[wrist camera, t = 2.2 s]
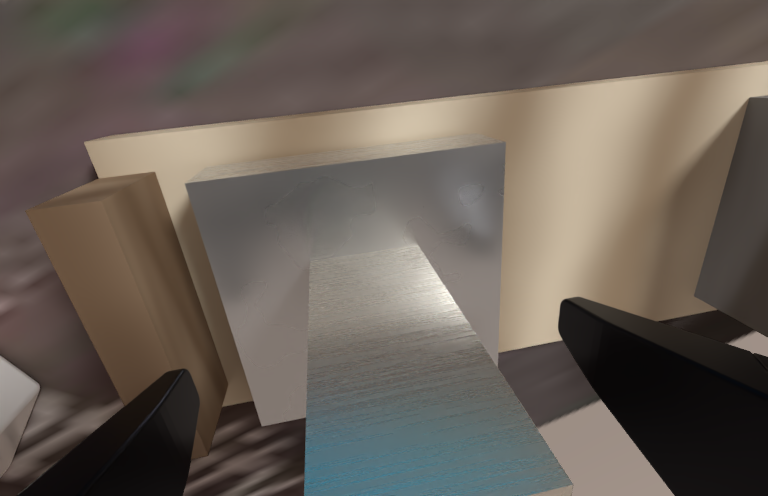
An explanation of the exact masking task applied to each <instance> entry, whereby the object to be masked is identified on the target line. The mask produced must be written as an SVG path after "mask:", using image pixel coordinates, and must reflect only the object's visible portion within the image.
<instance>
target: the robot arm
mask: <svg viewBox="0 0 768 496" xmlns="http://www.w3.org/2000/svg"><path fill="white" fill-rule="evenodd" d="M558 331H559V334H560V336H561V338H562V340H563V341H564V343H565V344H566V346H567V348H568V349H569V351H570V352H571V354H572V356H573V357H574V359H575V361H576V362H577V364H578V365H579V367H580V369H581V370H582V372H583V374H584V375H585V377H586V378H587V380H588V381H589V383H590V385H591V386H592V388H593V389H594V390H595V392H596V393H597V394H598V396H599V397H600V398H601V400H602V401H603V402H604V404H605V405H606V406H607V408H608V409H609V410H610V412H611V413H612V414H613V415H614V417H615V418H616V419H617V421H618V422H619V423H620V425H621V426H622V427H623V429H624V430H625V431H626V433H627V434H628V435H629V436H630V438H631V439H632V440H633V442H634V443H635V444H636V446H637V447H638V448H639V450H640V451H641V452H642V454H643V455H644V456H645V457H646V459H647V460H648V461H649V462H650V464H651V465H652V467H653V468H654V469H655V471H656V472H657V473H658V474H659V476H660V477H661V478H662V480H663V481H664V482H665V483H666V485H667V486H668V488H669V489H670V490H671V491H672V493H673V494H674V495H675V496H768V357H766V356H763V355H759V354H756V353H754V354H752V353H751V352H750V351H747V350H744V349H740V348H738V347H735V346H731V345H728V344H725V343H722V342H719V341H716V340H713V339H710V338H707V337H703V336H700V335H697V334H694V333H691V332H688V331H685V330H682V329H679V328H676V327H672V326H669V325H666V324H663V323H660V322H657V321H654V320H651V319H648V318H644V317H641V316H638V315H635V314H632V313H629V312H626V311H623V310H620V309H617V308H613V307H610V306H607V305H604V304H601V303H598V302H595V301H592V300H589V299H585V298H582V297H572V298H566V299H564V300H562V302H561V304H560V311H559V320H558ZM199 408H200V398H199V394H198V391H197V389H196V386H195V384H194V381H193V379H192V376H191V374H190V372H189V371H188V370H187V369H185V368H183V369H177V370H172V371H168V372H166V373H164V374H163V375H162V376H161V377H160V378H158V379H157V380H156V381H155V382H154V383H152V384H151V385H150V386H149V387H147V388H146V389H145V390H144V391H143V392H141V393H140V394H139V395H138V396H137V397H135V398H134V399H133V400H132V401H131V402H129V403H128V404H127V405H126V406H124V407H123V408H122V409H121V410H120V411H118V412H117V413H116V414H115V415H114V416H112V417H111V418H110V419H109V420H108V421H106V422H105V423H104V424H103V425H101V426H100V427H99V428H98V429H97V430H95V431H94V432H93V433H92V434H91V435H89V436H88V437H87V438H86V439H85V440H83V441H82V442H81V443H80V444H78V445H77V446H76V447H75V448H74V449H72V450H71V451H70V452H69V453H68V454H66V455H65V456H64V457H63V458H61V459H60V460H59V461H58V462H57V463H55V464H54V465H53V466H52V467H51V468H49V469H48V470H47V471H46V472H45V473H43V474H42V475H41V476H40V477H38V478H37V479H36V480H35V481H34V482H32V483H31V484H30V485H29V486H28V487H26V488H25V489H24V490H23V491H22V492H20V493H19V494H18V495H17V496H183V493H184V489H185V485H186V481H187V477H188V473H189V468H190V463H191V457H192V451H193V445H194V439H195V433H196V426H197V420H198V414H199Z"/></svg>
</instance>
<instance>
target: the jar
mask: <svg viewBox="0 0 768 496" xmlns="http://www.w3.org/2000/svg"><path fill="white" fill-rule="evenodd" d="M39 391H40V385H39V383H38V382H36V381H35V380H34V379H32V378H31V377H30V376H28V375H27V374H25V373H24V372H23V371H21V370H20V369H19V368H17V367H16V366H15V365H13V364H12V363H10V362H9V361H8V360H6V359H5V358H4V357H2V356H1V355H0V478H1V477H2V475H3V474H4V473H5V472H6V470H7V469H8V468H9V466H10V465H11V462H12V460H13V457H14V455H15V452H16V450H17V447H18V445H19V442H20V440H21V437H22V434H23V432H24V429H25V427H26V424H27V422H28V419H29V417H30V414H31V412H32V409H33V406H34V404H35V401H36V399H37V396H38V394H39Z"/></svg>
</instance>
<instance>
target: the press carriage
mask: <svg viewBox="0 0 768 496" xmlns="http://www.w3.org/2000/svg"><path fill="white" fill-rule="evenodd" d="M505 152H506V142H504V141H501V140H497V139H494V138H491V137H487V136H484V135H481V134H477V133H473V134H465V135H457V136H449V137H441V138H433V139H425V140H417V141H409V142H401V143H393V144H385V145H377V146H369V147H361V148H353V149H345V150H337V151H329V152H321V153H313V154H305V155H297V156H289V157H281V158H273V159H265V160H257V161H249V162H241V163H233V164H225V165H217V166H209V167H206V168H204V169H203V170H202V171H200V172H199V173H198V174H196V175H195V176H194V177H193V178H191V179H190V180H189V181H187V182H186V183H185V186H186V189H187V192H188V196H189V199H190V202H191V205H192V208H193V211H194V214H195V218H196V221H197V224H198V227H199V230H200V233H201V237H202V240H203V243H204V246H205V249H206V252H207V255H208V259H209V262H210V265H211V268H212V271H213V274H214V277H215V281H216V284H217V287H218V290H219V293H220V296H221V300H222V303H223V306H224V309H225V312H226V315H227V318H228V322H229V325H230V328H231V331H232V334H233V337H234V340H235V344H236V347H237V350H238V353H239V356H240V359H241V363H242V366H243V369H244V372H245V375H246V378H247V381H248V385H249V388H250V391H251V394H252V397H253V400H254V403H255V407H256V410H257V413H258V416H259V419H260V422H261V426H267V425H272V424H276V423H281V422H286V421H291V420H296V419H301V418H306V441H305V482H304V496H571V495H572V489H573V484H572V482H571V480H570V479H569V477H568V476H567V474H566V473H565V471H564V470H563V468H562V467H561V465H560V464H559V462H558V460H557V459H556V457H555V456H554V454H553V453H552V451H551V450H550V448H549V446H548V445H547V443H546V442H545V440H544V439H543V437H542V436H541V434H540V433H539V431H538V429H537V428H536V426H535V425H534V423H533V422H532V420H531V419H530V417H529V416H528V414H527V412H526V411H525V409H524V408H523V406H522V405H521V403H520V402H519V400H518V399H517V397H516V395H515V394H514V392H513V391H512V389H511V388H510V386H509V385H508V383H507V382H506V380H505V378H504V377H503V375H502V374H501V372H500V371H499V369H498V346H499V318H500V291H501V263H502V235H503V208H504V180H505Z"/></svg>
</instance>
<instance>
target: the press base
mask: <svg viewBox="0 0 768 496" xmlns="http://www.w3.org/2000/svg"><path fill="white" fill-rule="evenodd" d="M473 133H477V134H481V135H484V136H487V137H491V138H494V139H497V140H501V141H504V142H506V152H505V180H504V208H503V235H502V263H501V291H500V318H499V346H498V353H499V352H504V351H509V350H514V349H520V348H525V347H530V346H535V345H540V344H545V343H550V342H555V341H560V340H562V338H561V336H560V334H559V331H558V320H559V311H560V304H561V302H562V300H564V299H566V298H572V297H582V298H585V299H589V300H592V301H595V302H598V303H601V304H604V305H607V306H610V307H613V308H617V309H620V310H623V311H626V312H629V313H632V314H635V315H638V316H641V317H644V318H648V319H651V320H654V321H662V320H667V319H673V318H678V317H683V316H688V315H693V314H698V313H703V312H708V311H713V310H720V311H721V312H723V313H725V314H727V315H729V316H730V317H732V318H734V319H736V320H738V321H739V322H741V323H743V324H745V325H747V326H748V327H750V328H752V329H754V330H756V331H757V332H759V333H761V334H763V335H764V336H766V337H768V61H766V62H757V63H748V64H739V65H730V66H722V67H713V68H704V69H695V70H686V71H677V72H668V73H660V74H651V75H642V76H633V77H624V78H615V79H606V80H598V81H589V82H580V83H571V84H562V85H553V86H544V87H536V88H527V89H518V90H509V91H500V92H491V93H482V94H474V95H465V96H456V97H447V98H438V99H429V100H420V101H412V102H403V103H394V104H385V105H376V106H367V107H358V108H350V109H341V110H332V111H323V112H314V113H305V114H296V115H288V116H279V117H270V118H261V119H252V120H243V121H234V122H225V123H217V124H208V125H199V126H190V127H181V128H172V129H163V130H155V131H146V132H137V133H128V134H119V135H111V136H107V137H103V138H99V139H95V140H91V141H87V142H84V143H85V146H86V148H87V151H88V153H89V156H90V158H91V161H92V163H93V165H94V168H95V170H96V173H97V175H98V178H99V179H97V180H94V181H92V182H90V183H87V184H85V185H83V186H81V187H78V188H76V189H74V190H71V191H69V192H67V193H65V194H62V195H60V196H58V197H55V198H53V199H51V200H49V201H46V202H44V203H42V204H39V205H37V206H35V207H33V208H30V209H28V210H26V213H27V215H28V217H29V219H30V221H31V223H32V225H33V227H34V229H35V231H36V233H37V235H38V237H39V239H40V241H41V243H42V245H43V247H44V249H45V251H46V253H47V255H48V257H49V258H50V260H51V262H52V264H53V266H54V268H55V270H56V272H57V274H58V276H59V278H60V280H61V282H62V284H63V286H64V288H65V290H66V292H67V294H68V296H69V298H70V300H71V302H72V304H73V306H74V308H75V310H76V312H77V313H78V315H79V317H80V319H81V321H82V323H83V325H84V327H85V329H86V331H87V333H88V335H89V337H90V339H91V341H92V343H93V345H94V347H95V349H96V351H97V353H98V355H99V357H100V359H101V361H102V363H103V365H104V366H105V368H106V370H107V372H108V374H109V376H110V378H111V380H112V382H113V384H114V386H115V388H116V390H117V392H118V394H119V396H120V398H121V400H122V402H123V404H124V406H126V405H127V404H128V403H129V402H131V401H132V400H133V399H134V398H135V397H137V396H138V395H139V394H140V393H141V392H143V391H144V390H145V389H146V388H147V387H149V386H150V385H151V384H152V383H154V382H155V381H156V380H157V379H158V378H160V377H161V376H162V375H163V374H164V373H166V372H168V371H172V370H177V369H183V368H185V369H187V370H188V371H189V372H190V374H191V376H192V379H193V381H194V384H195V386H196V389H197V391H198V394H199V398H200V408H199V414H198V420H197V426H196V433H195V439H194V445H193V451H192V457H191V459H196V458H200V457H205V456H208V454H209V451H210V447H211V444H212V440H213V437H214V433H215V430H216V426H217V423H218V419H219V416H220V412H221V409H222V407H224V406H229V405H234V404H239V403H244V402H249V401H254V400H253V397H252V394H251V391H250V388H249V385H248V381H247V378H246V375H245V372H244V369H243V366H242V363H241V359H240V356H239V353H238V350H237V347H236V344H235V340H234V337H233V334H232V331H231V328H230V325H229V322H228V318H227V315H226V312H225V309H224V306H223V303H222V300H221V296H220V293H219V290H218V287H217V284H216V281H215V277H214V274H213V271H212V268H211V265H210V262H209V259H208V255H207V252H206V249H205V246H204V243H203V240H202V237H201V233H200V230H199V227H198V224H197V221H196V218H195V214H194V211H193V208H192V205H191V202H190V199H189V196H188V192H187V189H186V186H185V183H186V182H187V181H189V180H190V179H191V178H193V177H194V176H195V175H196V174H198V173H199V172H200V171H202V170H203V169H204V168H206V167H209V166H217V165H225V164H233V163H241V162H249V161H257V160H265V159H273V158H281V157H289V156H297V155H305V154H313V153H321V152H329V151H337V150H345V149H353V148H361V147H369V146H377V145H385V144H393V143H401V142H409V141H417V140H425V139H433V138H441V137H449V136H457V135H465V134H473Z"/></svg>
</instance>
